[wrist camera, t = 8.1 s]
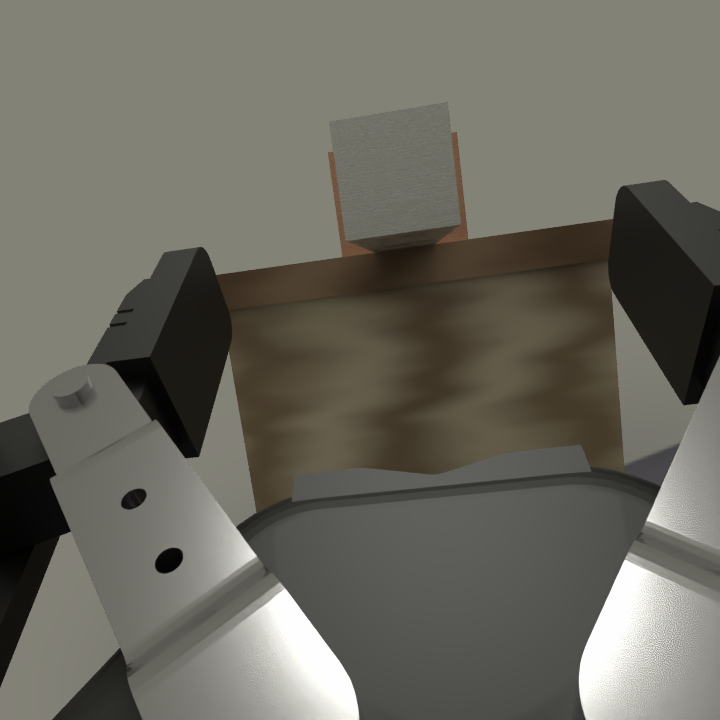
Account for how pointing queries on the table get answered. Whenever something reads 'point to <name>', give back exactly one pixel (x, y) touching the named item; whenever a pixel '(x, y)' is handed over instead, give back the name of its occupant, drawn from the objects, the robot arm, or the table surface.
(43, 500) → the robot arm
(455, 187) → the gray and brown block
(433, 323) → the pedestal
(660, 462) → the table surface
